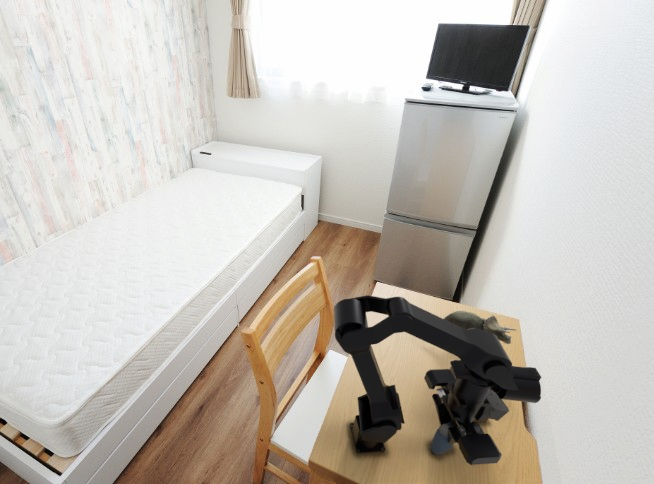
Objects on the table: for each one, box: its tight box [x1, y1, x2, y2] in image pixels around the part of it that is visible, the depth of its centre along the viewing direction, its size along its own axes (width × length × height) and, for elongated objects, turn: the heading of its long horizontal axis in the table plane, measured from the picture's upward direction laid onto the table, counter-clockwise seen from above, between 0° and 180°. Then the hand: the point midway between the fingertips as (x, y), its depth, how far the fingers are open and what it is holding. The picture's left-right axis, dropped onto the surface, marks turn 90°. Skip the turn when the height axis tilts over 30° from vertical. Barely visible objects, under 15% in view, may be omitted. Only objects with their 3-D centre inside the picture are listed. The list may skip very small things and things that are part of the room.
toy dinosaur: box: [443, 310, 517, 345], centre depth 103 cm, size 22×8×11 cm, turn 62°
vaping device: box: [430, 418, 459, 456], centre depth 74 cm, size 3×5×12 cm, turn 111°
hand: (447, 435), depth 74 cm, fingers closed on vaping device, 3 cm apart
